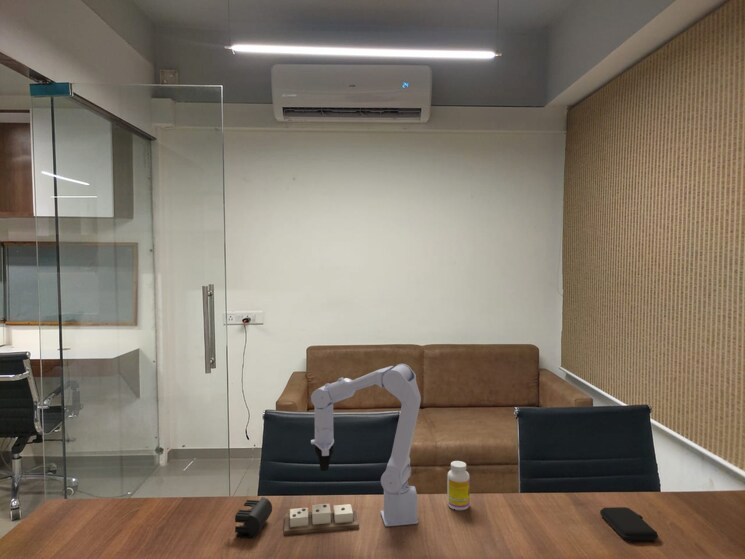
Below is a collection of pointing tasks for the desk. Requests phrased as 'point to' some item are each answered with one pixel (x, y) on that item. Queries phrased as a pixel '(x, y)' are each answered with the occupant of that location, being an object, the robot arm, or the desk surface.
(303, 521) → the tile three
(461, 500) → the supplement bottle
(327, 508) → the tile two
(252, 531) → the end cap
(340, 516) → the tile one
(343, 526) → the tile tray
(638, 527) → the black rounded phone case
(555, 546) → the desk surface
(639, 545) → the desk surface
